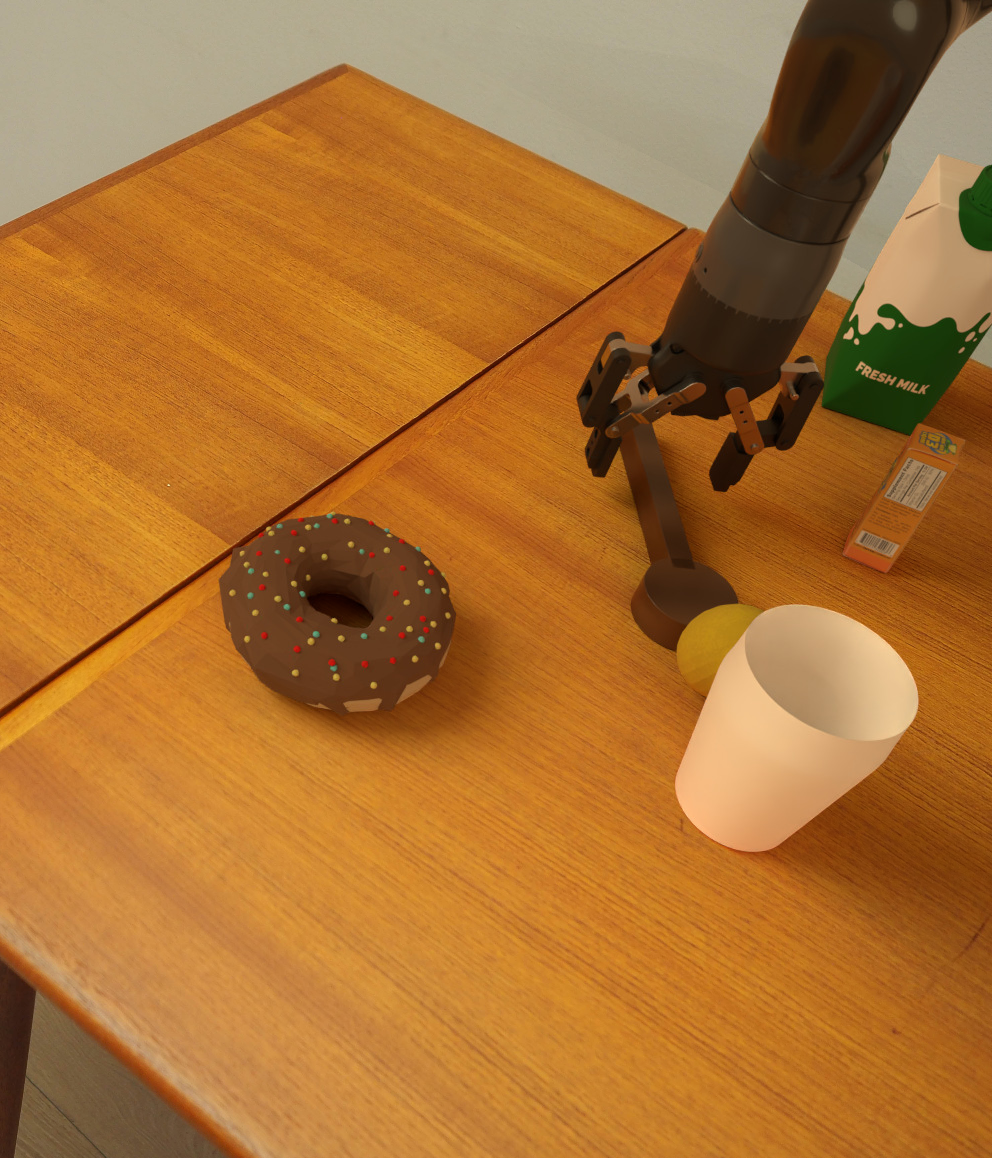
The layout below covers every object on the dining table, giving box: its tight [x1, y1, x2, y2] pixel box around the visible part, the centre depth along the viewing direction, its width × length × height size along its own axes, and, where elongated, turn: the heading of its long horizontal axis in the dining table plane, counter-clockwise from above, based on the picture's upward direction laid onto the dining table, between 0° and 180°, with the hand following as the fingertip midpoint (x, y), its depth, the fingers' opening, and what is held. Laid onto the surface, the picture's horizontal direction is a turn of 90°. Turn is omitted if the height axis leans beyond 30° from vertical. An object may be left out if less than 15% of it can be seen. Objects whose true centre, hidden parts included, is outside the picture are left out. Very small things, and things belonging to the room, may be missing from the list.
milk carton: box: [821, 153, 992, 436], centre depth 96 cm, size 9×9×20 cm
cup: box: [674, 603, 919, 853], centre depth 70 cm, size 9×9×12 cm
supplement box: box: [841, 423, 966, 574], centre depth 87 cm, size 3×3×10 cm
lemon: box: [675, 603, 766, 699], centre depth 76 cm, size 6×6×8 cm
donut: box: [218, 511, 457, 717], centre depth 77 cm, size 14×14×5 cm
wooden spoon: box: [619, 408, 740, 652], centre depth 88 cm, size 21×6×2 cm, turn 178°
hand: (656, 476), depth 90 cm, fingers open, 8 cm apart
